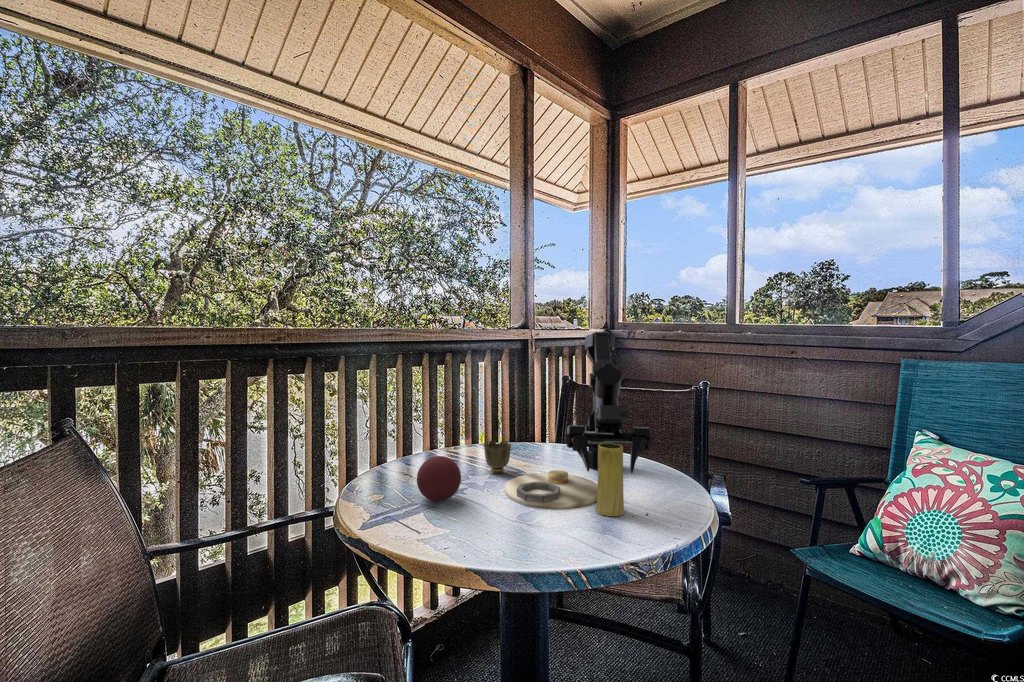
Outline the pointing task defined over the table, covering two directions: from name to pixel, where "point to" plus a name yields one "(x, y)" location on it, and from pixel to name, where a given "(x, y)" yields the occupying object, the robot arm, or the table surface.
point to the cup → (497, 455)
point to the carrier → (552, 490)
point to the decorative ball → (438, 478)
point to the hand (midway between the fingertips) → (610, 471)
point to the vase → (610, 480)
